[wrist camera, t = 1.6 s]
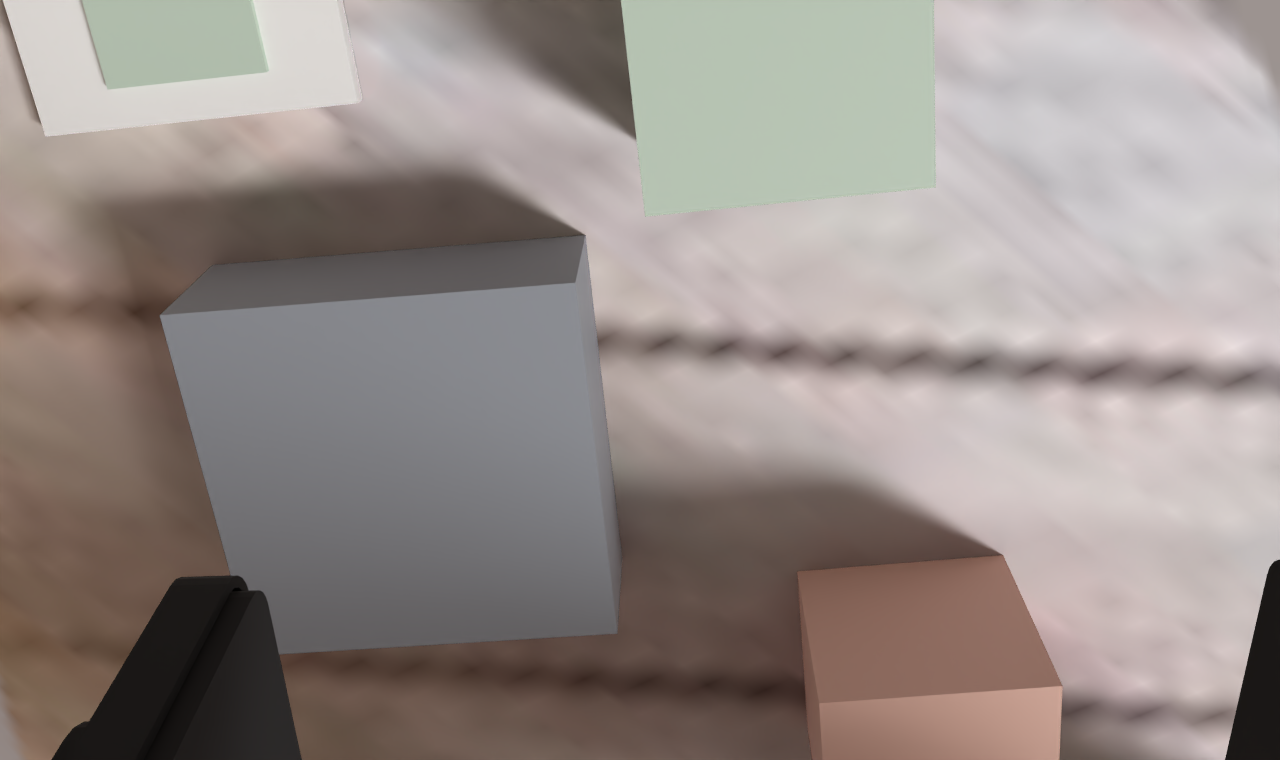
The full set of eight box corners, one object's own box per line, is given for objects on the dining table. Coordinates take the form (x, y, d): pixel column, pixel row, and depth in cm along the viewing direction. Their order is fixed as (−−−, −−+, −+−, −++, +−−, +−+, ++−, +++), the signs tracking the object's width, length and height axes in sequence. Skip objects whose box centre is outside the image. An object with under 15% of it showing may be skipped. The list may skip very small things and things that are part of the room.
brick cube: (1002, 553, 35) (1062, 686, 30) (999, 715, 38) (1054, 865, 32) (796, 569, 36) (819, 703, 30) (807, 729, 38) (830, 879, 33)
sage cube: (881, -136, 28) (932, -128, 22) (887, 123, 30) (935, 187, 25) (622, -105, 28) (610, -91, 23) (649, 147, 31) (644, 216, 25)
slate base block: (586, 230, 32) (575, 282, 28) (622, 552, 36) (617, 633, 32) (216, 260, 32) (159, 315, 29) (294, 573, 37) (253, 656, 33)
